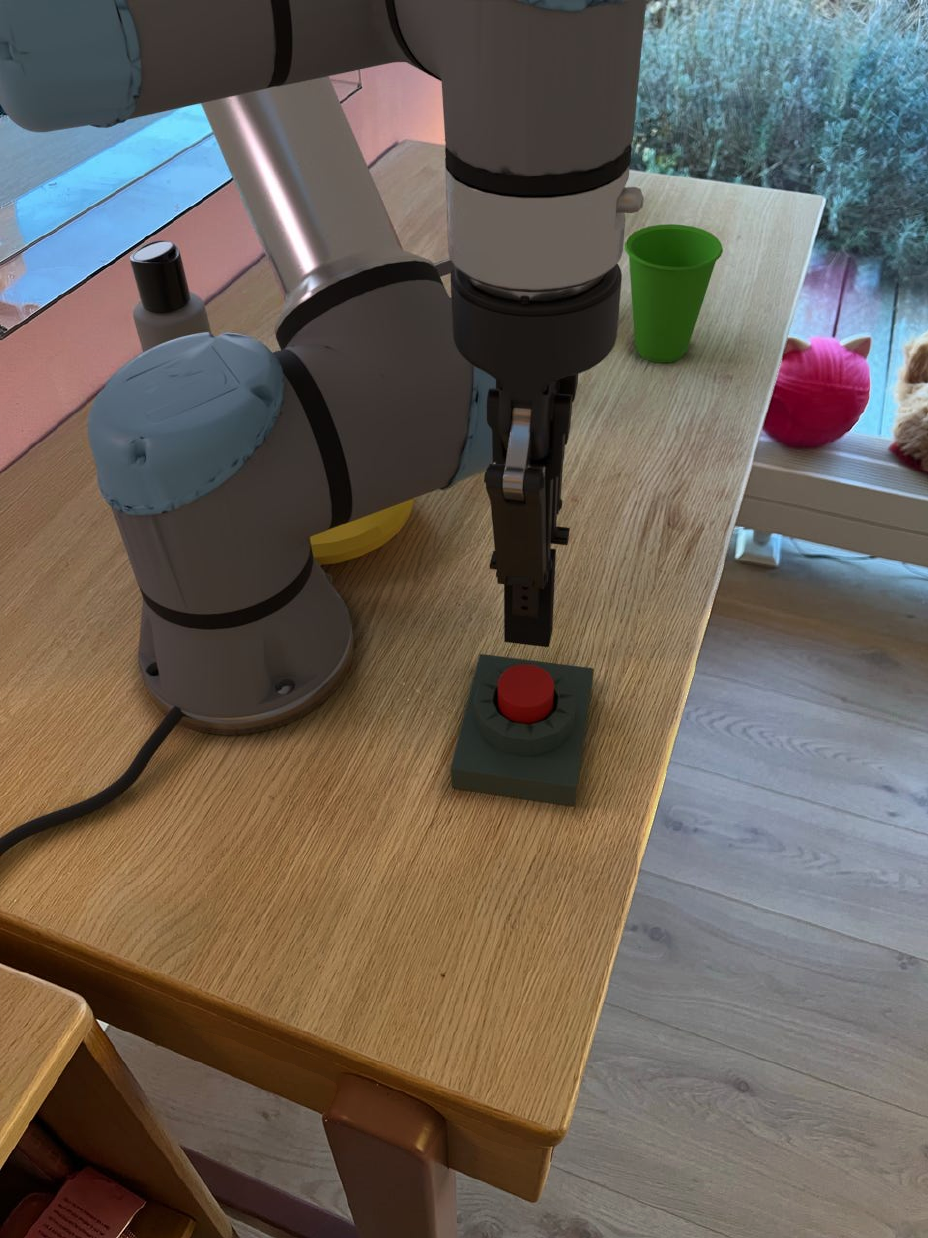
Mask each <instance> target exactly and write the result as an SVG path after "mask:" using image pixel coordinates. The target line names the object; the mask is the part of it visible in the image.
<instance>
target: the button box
mask: <svg viewBox="0 0 928 1238" xmlns="http://www.w3.org/2000/svg"><path fill="white" fill-rule="evenodd" d="M522 664H528V665H534V666H538V667H540V668H542V669H544V670H545V671H546V672H548V673H549V675H550V676H551V677H552V679H553V682H554V699H553V708H552V710H551V712H550V713H549V714H548V716H546V717H545V718H544V719H542V720H540V721H538V722H535V723H530V724H522V723H517V722H514V721H511V720H510V719H508V718H506V717H505V716H504V715H503V714H502V712H501V711H500V709H499V707H498V681H499V678H500V676H501V675H502V674H503V673H504V672H505V671H506V670H507V669H509V668H511V667H513V666H516V665H522ZM594 670H595V669H594V668H593V667H587V666H579V665H570V664H562V663H556V662H546V661H539V660H531V659H523V658H517V657H516V658H515V657H508V656H500V655H492V654H486V653H485V654H484V653H479V654H478V660H477V662H476V666H475V670H474V674H473V679H472V682H471V687H470V690H469V694H468V697H467V698H468V699H467V701H466V702H467V703H466V706H465V709H464V715H463V718H462V723H461V725H460V729H459V732H458V733H459V734H458V736H457V737H458V738H457V742H456V746H455V750H454V753H453V756H452V761H451V767H450V778H451V779H450V780H451V781H450V782H451V789H454V790H462V791H468V792H475V793H481V794H487V795H489V794H490V795H493V796H494V795H495V796H501V797H507V798H515V799H522V800H528V801H535V802H542V803H548V804H556V805H561V806H568V807H575V806H576V803H577V795H578V787H579V782H580V774H581V768H582V760H583V754H584V747H585V746H584V745H585V740H586V732H587V725H588V718H589V713H590V704H591V697H592V691H593V682H594Z"/></svg>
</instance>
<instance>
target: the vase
mask: <svg viewBox="0 0 928 1238" xmlns="http://www.w3.org/2000/svg"><path fill="white" fill-rule="evenodd" d="M414 502H415V498H413V499H411V500H408V501H405V502H403V503H400V504H397V505H395V506H392V507H389V508H387V509H384V510H381V511H379V512H376V513H373V514H371V515H368V516H365V517H363V518H360V519H357V520H355V521H352V522H349V523H347V524H342V525H340V526H337V527H334V528H332V529H329V530H327V531H325V532H322V533H319V534H316V535H314V536H311V537H310V541H311V547H312V552H313V556H314V558H315V559H316V561H317V562H318V564H319V565H320V566H323V565H333V564H340V563H342V562H347V561H350V560H353V559H357V558H360V557H363V556H364V555H366V554H368V553H370V552H373V551H374V550H376V549H378V548H381V547H383V546H384V545H385V544H386V543H388V542H389V541H390V540H391V539H392V538H394V537H395V536H396V535H397V534H399V532H400V531H401V529H402V528H403V527H404V525H405V524H406V522H407V521H408V519H409V517H410V514H411V513H412V512H411V511H412V509H413V505H414Z"/></svg>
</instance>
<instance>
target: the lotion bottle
mask: <svg viewBox="0 0 928 1238" xmlns="http://www.w3.org/2000/svg"><path fill="white" fill-rule="evenodd" d="M129 263H130V266H131V269H132V273H133V277H134V281H135V284H136V288H137V291H138V294H139V298H140V301H138V302H137V303H136V304H135V306H134V308H133V310H132V318H133V321H134V325H135V329H136V333H137V336H138V339H139V343H140V346H141V349H142V353H143V352H145V351H147V350H149V349H151V348H153V347H155V346H157V345H160V344H162V343H165V342H168V341H170V340H173V339H176V338H180V337H184V336H188V335H193V334H198V333H206V332H209V333H211V334H212V330H211V325H210V321H209V317H208V313H207V308H206V305H205V302H204V300H203V298H202V297H201V296H199V295H198V294H196V293H194V292H191V291H190V289H189V285H188V279H187V275H186V272H185V268H184V263H183V259H182V255H181V251H180V249H179V247H178V246H177V245H176V244H175V243H174V242H172V241H170V240H165V239H164V240H163V239H162V240H161V239H158V240H153V241H150V242H147V243H146V244H144V245H142V246H139V248H137V249H136V250H135V251H134V252H132V254H131V255H130V256H129Z"/></svg>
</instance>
